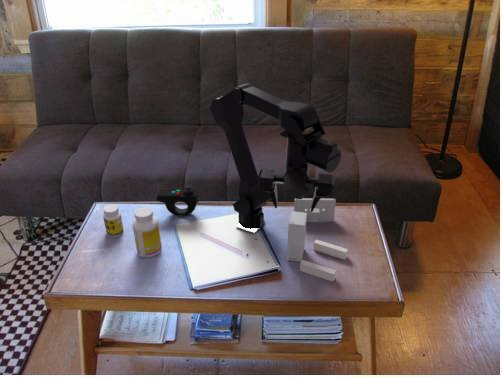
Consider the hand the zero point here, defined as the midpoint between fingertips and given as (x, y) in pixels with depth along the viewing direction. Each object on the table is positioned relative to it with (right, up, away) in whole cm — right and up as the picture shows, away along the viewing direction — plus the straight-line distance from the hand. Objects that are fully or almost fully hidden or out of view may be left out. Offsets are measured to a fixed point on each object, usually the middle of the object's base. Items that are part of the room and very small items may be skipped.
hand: (293, 209), depth 121 cm
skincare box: (+1, -13, +5) cm, 14 cm away
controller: (-33, -3, +21) cm, 39 cm away
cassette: (+8, -4, +18) cm, 20 cm away
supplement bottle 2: (-39, -12, +7) cm, 41 cm away
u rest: (+8, -14, +2) cm, 16 cm away
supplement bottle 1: (-50, -7, +14) cm, 53 cm away
